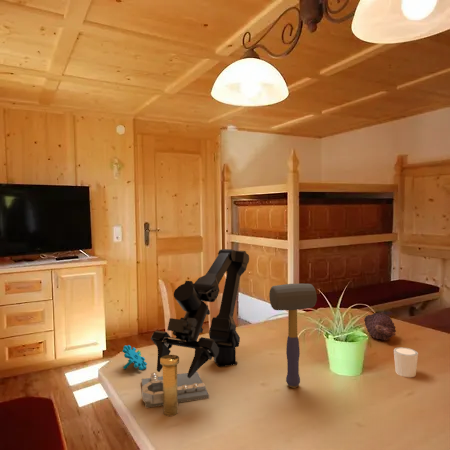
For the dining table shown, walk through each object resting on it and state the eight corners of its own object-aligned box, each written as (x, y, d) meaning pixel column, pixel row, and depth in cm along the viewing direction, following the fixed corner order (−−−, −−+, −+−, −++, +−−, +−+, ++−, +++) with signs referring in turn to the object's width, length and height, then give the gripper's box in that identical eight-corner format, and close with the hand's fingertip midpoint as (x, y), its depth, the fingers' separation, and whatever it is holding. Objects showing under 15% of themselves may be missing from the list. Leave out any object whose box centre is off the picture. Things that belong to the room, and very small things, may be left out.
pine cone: (356, 331, 155) (356, 308, 154) (378, 330, 156) (378, 306, 156) (381, 347, 137) (381, 320, 137) (405, 345, 139) (405, 318, 138)
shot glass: (417, 370, 117) (417, 348, 117) (418, 379, 111) (418, 356, 111) (393, 367, 120) (393, 345, 120) (393, 375, 114) (393, 353, 114)
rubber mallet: (307, 378, 113) (307, 280, 112) (318, 389, 106) (318, 285, 105) (268, 382, 110) (267, 282, 109) (277, 395, 103) (276, 287, 102)
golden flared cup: (178, 405, 98) (177, 353, 98) (181, 415, 94) (180, 360, 93) (160, 408, 97) (159, 355, 96) (162, 418, 92) (161, 363, 92)
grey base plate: (197, 374, 116) (197, 371, 116) (208, 397, 102) (208, 394, 102) (141, 382, 112) (141, 379, 112) (145, 407, 97) (145, 404, 97)
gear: (143, 371, 116) (121, 347, 117) (129, 384, 116) (108, 361, 117) (152, 361, 127) (132, 339, 128) (140, 373, 127) (120, 352, 128)
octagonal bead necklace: (196, 371, 116) (196, 364, 116) (208, 395, 101) (207, 386, 101) (140, 379, 111) (139, 371, 111) (143, 405, 97) (143, 396, 97)
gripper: (154, 302, 104) (129, 354, 94) (213, 308, 96) (193, 367, 87) (169, 322, 112) (148, 373, 102) (226, 329, 104) (209, 385, 94)
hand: (172, 374), depth 96 cm, fingers open, 9 cm apart
